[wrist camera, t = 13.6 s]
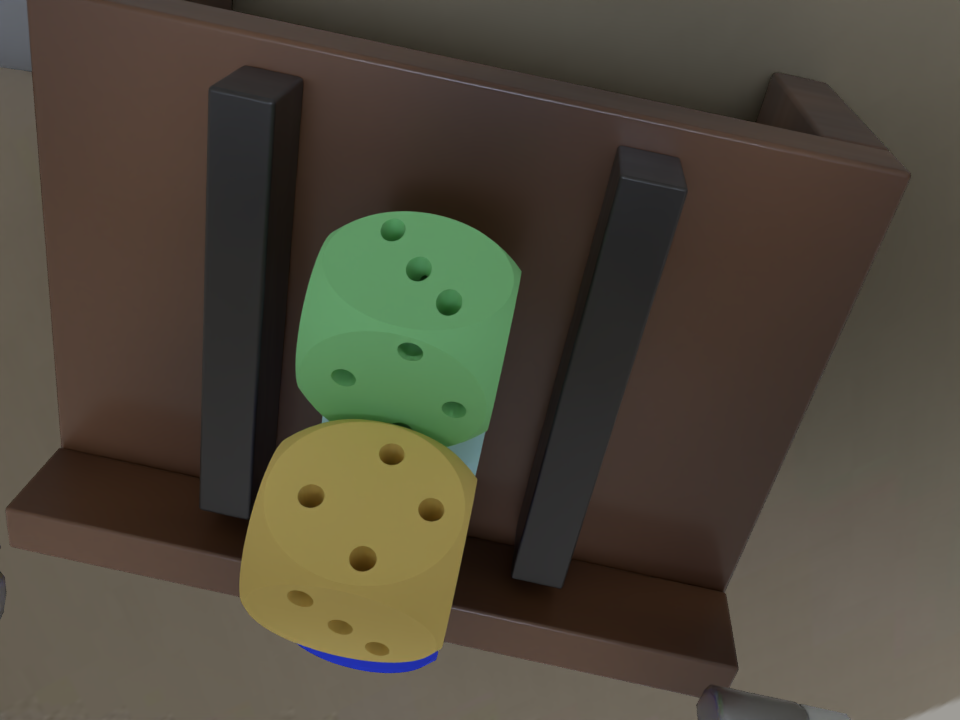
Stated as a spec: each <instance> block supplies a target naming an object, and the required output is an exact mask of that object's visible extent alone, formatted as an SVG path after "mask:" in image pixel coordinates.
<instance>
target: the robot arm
mask: <svg viewBox="0 0 960 720" xmlns="http://www.w3.org/2000/svg"><path fill="white" fill-rule="evenodd" d="M0 548H1V547H0ZM5 599H6V585H5V577H4V575H3V574H2V573H1V572H0V619H1V617H2V614H3V612H4V606H5ZM696 706H697V717H698V720H851V719H850V718H849V717H848V715H847V714H845V713H840V712H836V711H831V710H827V709H822V708H817V707H813V706H808V705H804V704H797V703H796V702H792V701H787V700H783V699H778V698H773V697H769V696H764V695H759V694H755V693H750V692H745V691H741V690H736V689H731V688H727V687H722V686H717V685H713V684H710V685H709V686H708V687H707V688H706V689H705V690H704V691H703V693H702V695H701V697H700V699H699V701H698V703H697V705H696Z"/></svg>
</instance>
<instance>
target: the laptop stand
mask: <svg viewBox="0 0 960 720" xmlns="http://www.w3.org/2000/svg"><path fill="white" fill-rule="evenodd" d="M26 1H27V14H28V27H29V39H30V52H31V65H32V78H33V91H34V103H35V116H36V129H37V142H38V154H39V167H40V180H41V193H42V205H43V218H44V231H45V244H46V256H47V269H48V282H49V295H50V308H51V320H52V333H53V346H54V359H55V371H56V384H57V397H58V410H59V422H60V435H61V448H59V449H58V450H57V451H56V452H55V453H54V455H53V456H52V457H51V458H50V459H49V460H48V461H47V462H46V464H45V465H44V466H43V467H42V468H41V469H40V470H39V471H38V472H37V474H36V475H35V476H34V477H33V478H32V479H31V480H30V481H29V483H28V484H27V485H26V486H25V487H24V488H23V489H22V490H21V492H20V493H19V494H18V495H17V496H16V497H15V498H14V499H13V501H12V502H11V503H10V504H9V505H8V506H7V508H6V510H5V511H6V519H7V527H8V535H9V543H10V546H11V547H14V548H19V549H23V550H28V551H32V552H37V553H41V554H46V555H51V556H55V557H60V558H64V559H69V560H73V561H78V562H83V563H87V564H92V565H96V566H101V567H105V568H110V569H114V570H119V571H124V572H128V573H133V574H137V575H142V576H146V577H151V578H156V579H160V580H165V581H169V582H174V583H178V584H183V585H188V586H192V587H197V588H201V589H206V590H210V591H215V592H220V593H224V594H229V595H233V596H238V597H240V592H239V580H240V568H241V561H242V554H243V548H244V543H245V538H246V534H247V529H248V525H249V521H250V517H251V514H252V510H253V506H254V503H255V500H256V497H257V493H258V490H259V488H260V485H261V482H262V479H263V477H264V474H265V472H266V469H267V467H268V465H269V462H270V460H271V458H272V456H273V454H274V452H275V451H276V449H277V448H278V446H279V445H280V443H281V442H282V441H283V440H285V439H286V438H288V437H290V436H292V435H293V434H295V433H297V432H299V431H302V430H304V429H306V428H309V427H312V426H315V425H318V424H321V423H322V415H321V414H320V413H319V412H318V411H317V410H316V409H315V408H314V407H313V405H312V404H311V403H310V402H309V401H308V400H307V398H306V397H305V396H304V394H303V393H302V392H301V390H300V389H299V387H298V385H297V381H296V348H297V339H298V332H299V325H300V319H301V314H302V309H303V304H304V300H305V296H306V292H307V288H308V284H309V281H310V277H311V274H312V271H313V268H314V265H315V262H316V259H317V257H318V254H319V252H320V250H321V247H322V245H323V243H324V242H325V240H326V238H327V237H328V236H329V234H330V233H332V232H333V231H335V230H337V229H339V228H340V227H342V226H344V225H346V224H348V223H350V222H353V221H355V220H358V219H360V218H363V217H366V216H370V215H374V214H379V213H386V212H397V211H411V212H423V213H430V214H435V215H439V216H444V217H447V218H450V219H453V220H456V221H459V222H462V223H464V224H466V225H468V226H470V227H472V228H474V229H476V230H478V231H480V232H481V233H483V234H484V235H486V236H487V237H488V238H490V239H491V240H493V241H494V242H495V243H496V244H498V245H499V246H500V247H501V248H502V249H503V250H504V251H505V252H506V253H507V254H508V255H509V256H510V257H511V258H512V259H513V260H514V262H515V263H516V264H517V266H518V267H519V268H520V270H521V271H522V272H521V278H520V284H519V289H518V294H517V299H516V304H515V309H514V314H513V318H512V323H511V328H510V333H509V338H508V342H507V347H506V352H505V356H504V361H503V366H502V370H501V375H500V379H499V384H498V388H497V393H496V397H495V402H494V406H493V411H492V415H491V419H490V423H489V427H488V430H487V431H486V432H485V436H484V440H483V445H482V449H481V454H480V458H479V463H478V467H477V471H476V475H475V477H476V478H477V485H476V490H475V496H474V501H473V506H472V511H471V516H470V521H469V526H468V531H467V536H466V541H465V546H464V550H463V555H462V560H461V565H460V569H459V574H458V579H457V584H456V588H455V593H454V597H453V602H452V607H451V611H450V616H449V620H448V625H447V629H446V633H445V638H444V642H448V643H452V644H457V645H462V646H466V647H471V648H475V649H480V650H484V651H489V652H494V653H498V654H503V655H507V656H512V657H516V658H521V659H525V660H530V661H535V662H539V663H544V664H548V665H553V666H557V667H562V668H567V669H571V670H576V671H580V672H585V673H589V674H594V675H599V676H603V677H608V678H612V679H617V680H621V681H626V682H631V683H635V684H640V685H644V686H649V687H653V688H658V689H662V690H667V691H672V692H676V693H681V694H685V695H690V696H694V697H699V698H700V697H701V695H702V693H703V691H704V690H705V689H706V688H707V687H708V686H709V685H710V684H713V685H717V686H722V687H727V688H730V686H731V684H732V682H733V680H734V678H735V676H736V674H737V672H738V662H737V656H736V650H735V644H734V638H733V632H732V626H731V620H730V615H729V609H728V603H727V597H726V594H725V593H724V592H725V590H726V588H727V586H728V583H729V581H730V579H731V577H732V575H733V572H734V570H735V568H736V566H737V563H738V561H739V559H740V557H741V554H742V552H743V550H744V548H745V546H746V543H747V541H748V539H749V537H750V534H751V532H752V530H753V528H754V526H755V523H756V521H757V519H758V517H759V514H760V512H761V510H762V508H763V506H764V503H765V501H766V499H767V497H768V494H769V492H770V490H771V488H772V485H773V483H774V481H775V479H776V477H777V474H778V472H779V470H780V468H781V465H782V463H783V461H784V459H785V457H786V454H787V452H788V450H789V448H790V445H791V443H792V441H793V439H794V437H795V434H796V432H797V430H798V428H799V425H800V423H801V421H802V419H803V416H804V414H805V412H806V410H807V408H808V405H809V403H810V401H811V399H812V396H813V394H814V392H815V390H816V388H817V385H818V383H819V381H820V379H821V376H822V374H823V372H824V370H825V368H826V365H827V363H828V361H829V359H830V356H831V354H832V352H833V350H834V347H835V345H836V343H837V341H838V339H839V336H840V334H841V332H842V330H843V327H844V325H845V323H846V321H847V319H848V316H849V314H850V312H851V310H852V307H853V305H854V303H855V301H856V299H857V296H858V294H859V292H860V290H861V287H862V285H863V283H864V281H865V279H866V276H867V274H868V272H869V270H870V267H871V265H872V263H873V261H874V258H875V256H876V254H877V252H878V250H879V247H880V245H881V243H882V241H883V238H884V236H885V234H886V232H887V230H888V227H889V225H890V223H891V221H892V218H893V216H894V214H895V212H896V210H897V207H898V205H899V203H900V201H901V198H902V196H903V194H904V192H905V189H906V187H907V185H908V183H909V181H910V178H911V173H910V172H909V171H908V170H907V169H906V168H905V167H904V166H903V165H902V164H901V162H900V161H899V160H898V159H897V158H896V157H895V156H894V155H893V154H892V153H891V152H889V149H888V148H887V147H886V146H885V145H884V144H883V143H882V142H881V141H880V140H879V139H878V138H877V137H876V135H875V134H874V133H873V132H872V131H871V130H870V129H869V128H868V127H867V126H866V125H865V124H864V123H863V122H862V121H861V119H860V118H859V117H858V116H857V115H856V114H855V113H854V112H853V111H852V110H851V109H850V108H849V107H848V106H847V105H846V103H845V102H844V101H843V100H842V99H841V98H840V97H839V96H838V95H837V94H836V93H835V92H834V91H833V90H832V89H831V87H830V86H829V85H828V84H826V83H824V82H819V81H815V80H810V79H805V78H801V77H796V76H791V75H787V74H782V73H774V74H773V75H772V77H771V80H770V83H769V86H768V89H767V92H766V95H765V98H764V101H763V104H762V106H761V109H760V112H759V115H758V118H757V121H756V123H755V122H750V121H745V120H741V119H736V118H731V117H727V116H722V115H717V114H713V113H708V112H703V111H699V110H694V109H689V108H685V107H680V106H675V105H671V104H666V103H661V102H657V101H652V100H647V99H643V98H638V97H633V96H629V95H624V94H619V93H614V92H610V91H605V90H600V89H596V88H591V87H586V86H582V85H577V84H572V83H568V82H563V81H558V80H554V79H549V78H544V77H540V76H535V75H530V74H526V73H521V72H516V71H512V70H507V69H502V68H498V67H493V66H488V65H483V64H479V63H474V62H469V61H465V60H460V59H455V58H451V57H446V56H441V55H437V54H432V53H427V52H423V51H418V50H413V49H409V48H404V47H399V46H395V45H390V44H385V43H381V42H376V41H371V40H367V39H362V38H357V37H353V36H348V35H343V34H338V33H334V32H329V31H324V30H320V29H315V28H310V27H306V26H301V25H296V24H292V23H287V22H282V21H278V20H273V19H268V18H264V17H259V16H254V15H250V14H245V13H240V12H236V11H232V0H26Z"/></svg>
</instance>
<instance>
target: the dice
mask: <svg viewBox="0 0 960 720" xmlns="http://www.w3.org/2000/svg"><path fill="white" fill-rule="evenodd" d="M521 272H522V271H521V270H520V268H519V267H518V266H517V264H516V263H515V262H514V260H513V259H512V258H511V257H510V256H509V255H508V254H507V253H506V252H505V251H504V250H503V249H502V248H501V247H500V246H499V245H498V244H496V243H495V242H494V241H493V240H491V239H490V238H488V237H487V236H486V235H484V234H483V233H481V232H480V231H478V230H476V229H474V228H472V227H470V226H468V225H466V224H464V223H462V222H459V221H456V220H453V219H450V218H447V217H444V216H439V215H435V214H430V213H423V212H411V211H397V212H386V213H379V214H374V215H370V216H366V217H363V218H360V219H358V220H355V221H353V222H350V223H348V224H346V225H344V226H342V227H340V228H339V229H337V230H335V231H333V232H332V233H330V234H329V236H328V237H327V238H326V240H325V242H324V243H323V245H322V247H321V250H320V252H319V254H318V257H317V259H316V262H315V265H314V268H313V271H312V274H311V277H310V281H309V284H308V288H307V292H306V296H305V300H304V304H303V309H302V314H301V319H300V325H299V332H298V339H297V348H296V381H297V385H298V387H299V389H300V390H301V392H302V393H303V394H304V396H305V397H306V398H307V400H308V401H309V402H310V403H311V404H312V405H313V407H314V408H315V409H316V410H317V411H318V412H319V413H320V414H321V415H322V423H321V424H318V425H315V426H312V427H309V428H306V429H304V430H302V431H299V432H297V433H295V434H293V435H292V436H290V437H288V438H286V439H285V440H283V441H282V442H281V443H280V445H279V446H278V448H277V449H276V451H275V452H274V454H273V456H272V458H271V460H270V462H269V465H268V467H267V469H266V472H265V474H264V477H263V479H262V482H261V485H260V488H259V490H258V493H257V497H256V500H255V503H254V506H253V510H252V514H251V517H250V521H249V525H248V529H247V534H246V538H245V543H244V548H243V554H242V561H241V568H240V580H239V592H240V599H241V602H242V604H243V606H244V607H245V609H246V610H247V612H248V613H249V615H250V616H251V617H252V618H253V619H254V620H255V621H257V622H258V623H259V624H260V625H262V626H263V627H265V628H266V629H268V630H270V631H272V632H273V633H275V634H277V635H279V636H281V637H283V638H285V639H288V640H290V641H292V642H295V643H297V644H298V645H299V646H301V647H302V648H304V649H305V650H307V651H308V652H310V653H312V654H314V655H316V656H318V657H320V658H322V659H325V660H327V661H330V662H332V663H335V664H338V665H342V666H345V667H349V668H353V669H358V670H363V671H369V672H379V673H400V672H408V671H412V670H416V669H419V668H421V667H423V666H425V665H427V664H429V663H431V662H433V661H435V660H436V659H437V655H438V650H440V649H442V646H443V642H444V638H445V633H446V629H447V625H448V620H449V616H450V611H451V607H452V602H453V597H454V593H455V588H456V584H457V579H458V574H459V569H460V565H461V560H462V555H463V550H464V546H465V541H466V536H467V531H468V526H469V521H470V516H471V511H472V506H473V501H474V496H475V490H476V485H477V478H476V477H475V475H476V471H477V467H478V463H479V458H480V454H481V449H482V445H483V440H484V436H485V432H486V431H487V430H488V427H489V423H490V419H491V415H492V411H493V406H494V402H495V397H496V393H497V388H498V384H499V379H500V375H501V370H502V366H503V361H504V356H505V352H506V347H507V342H508V338H509V333H510V328H511V323H512V318H513V314H514V309H515V304H516V299H517V294H518V289H519V284H520V278H521Z"/></svg>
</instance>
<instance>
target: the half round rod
mask: <svg viewBox="0 0 960 720" xmlns="http://www.w3.org/2000/svg"><path fill="white" fill-rule="evenodd" d="M0 67H4V68H11V69H18V70H24V71H31V72H32V65H31V52H30V39H29V27H28V14H27V1H26V0H0Z"/></svg>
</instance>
